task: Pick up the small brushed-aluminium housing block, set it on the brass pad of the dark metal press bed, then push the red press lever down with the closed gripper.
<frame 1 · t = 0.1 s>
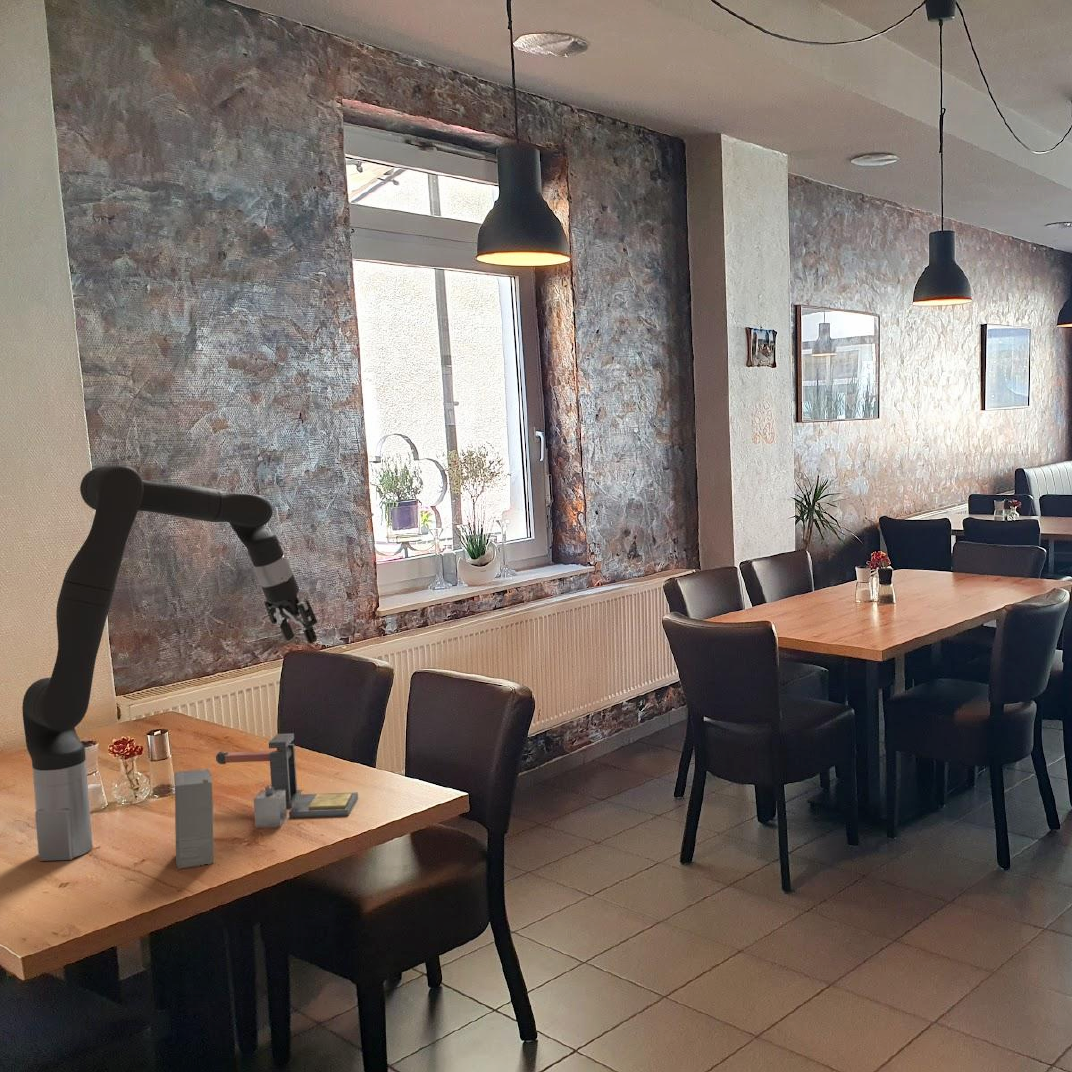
hand: (301, 640, 238), 31 cm above the table, tool tilted 20°, fingers open, 8 cm apart
skincare box: (196, 860, 192), on the table
press bed: (324, 807, 217), on the table
press lever: (252, 756, 222), point 10 cm above the table, hinge at 0.0°
housing block: (271, 823, 210), on the table
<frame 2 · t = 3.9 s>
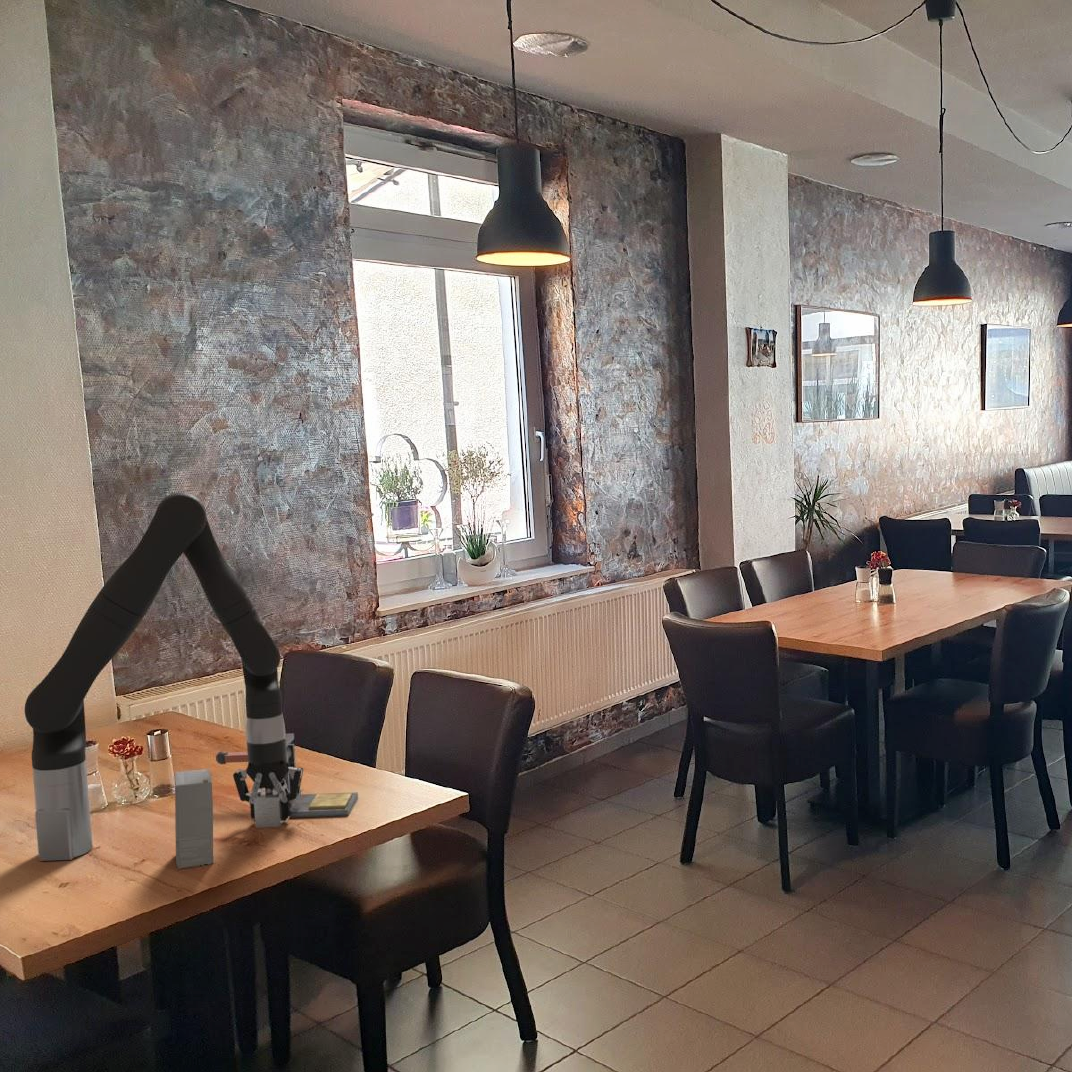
hand: (271, 819, 210), 1 cm above the table, tool pointing down, fingers closed on housing block, 5 cm apart
housing block: (271, 822, 210), on the table, touching gripper
everything else where it was.
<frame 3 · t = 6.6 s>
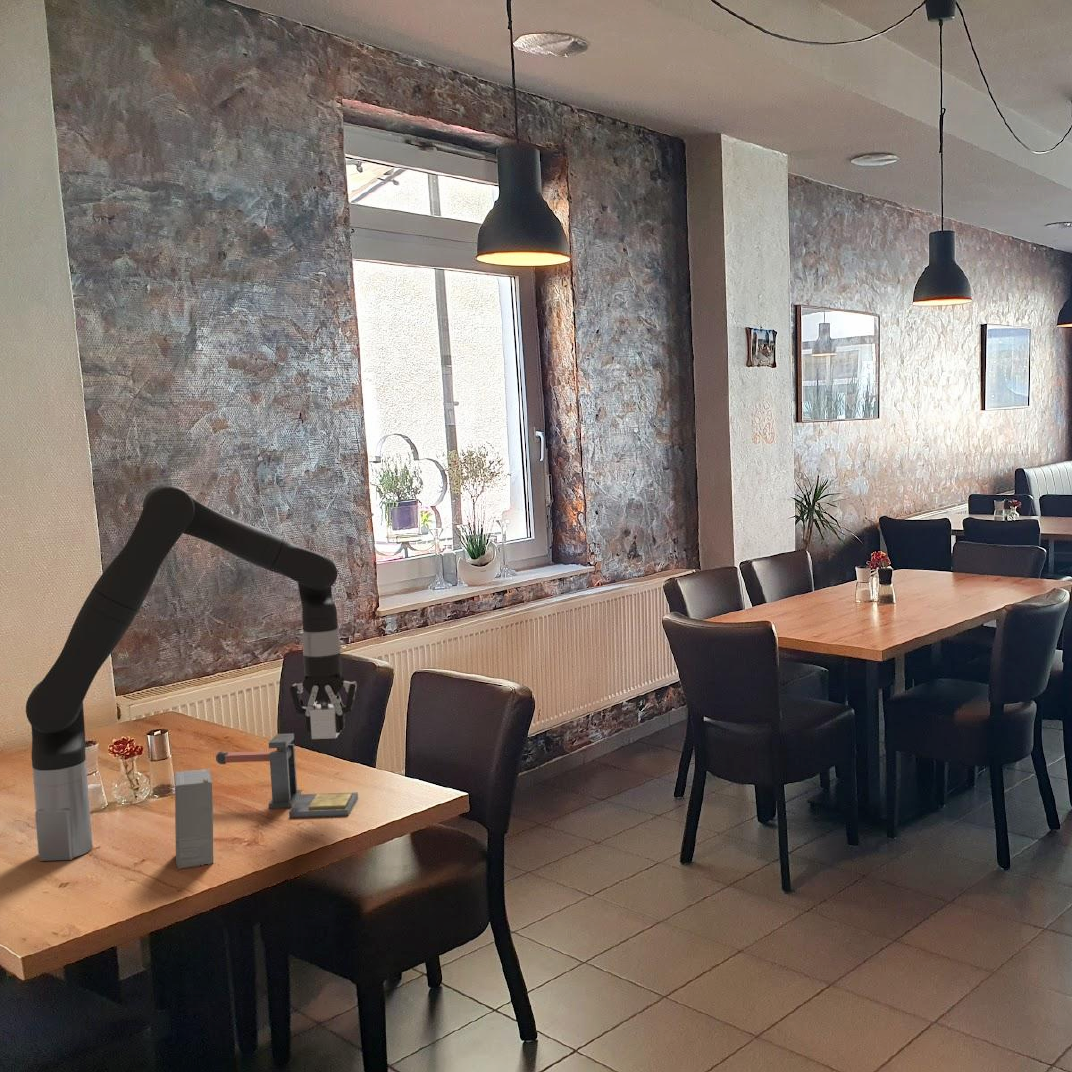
hand: (326, 732, 216), 16 cm above the table, tool pointing down, fingers closed on housing block, 5 cm apart
housing block: (326, 735, 216), point 15 cm above the table, touching gripper
everything else where it was.
when the fingers open (3 cm above the table, at t = 9.2 s): housing block stays where it is, resting on press bed.
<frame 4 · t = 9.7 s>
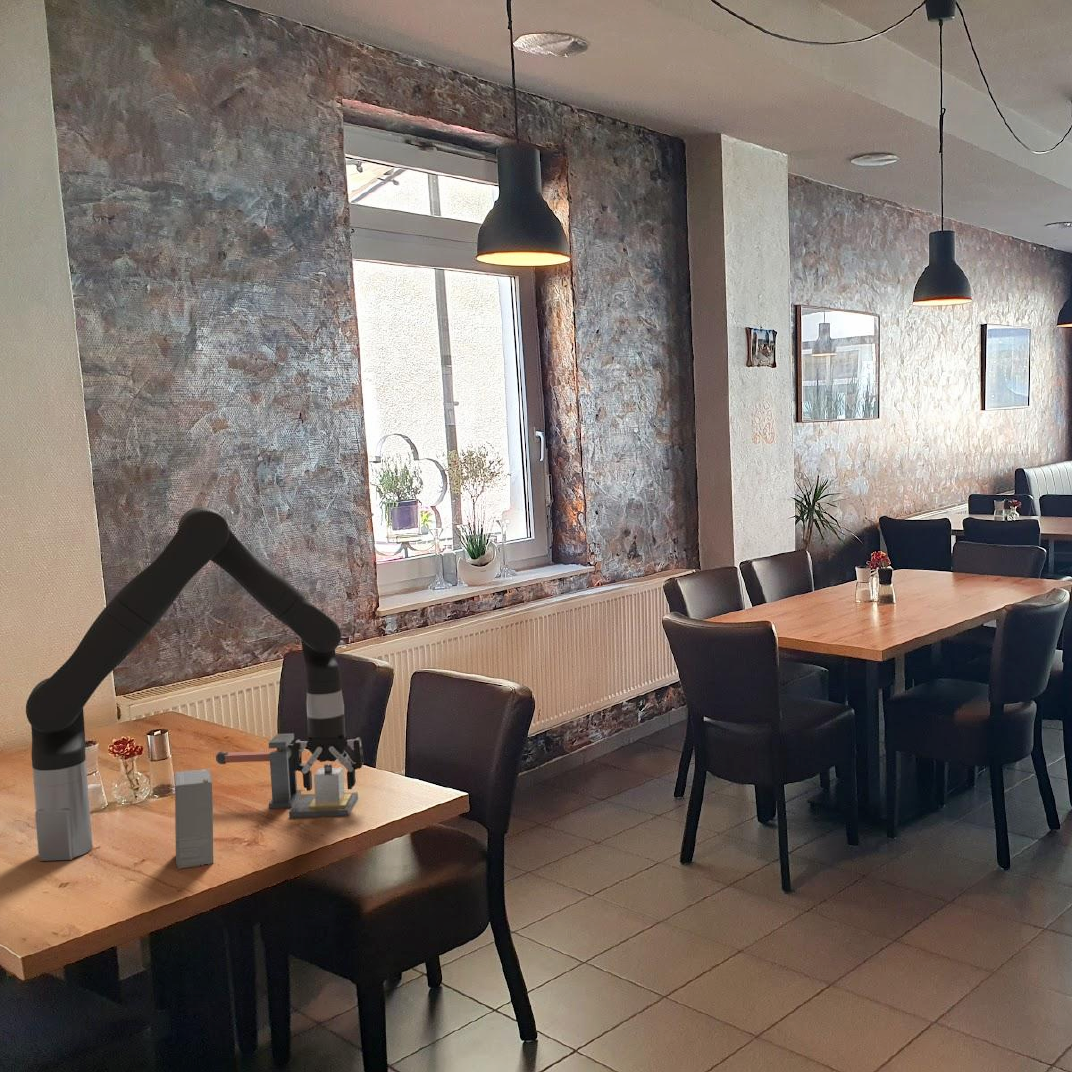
hand: (330, 788, 217), 4 cm above the table, tool pointing down, fingers open, 8 cm apart
housing block: (330, 799, 217), point 2 cm above the table, touching press bed
everything else where it was.
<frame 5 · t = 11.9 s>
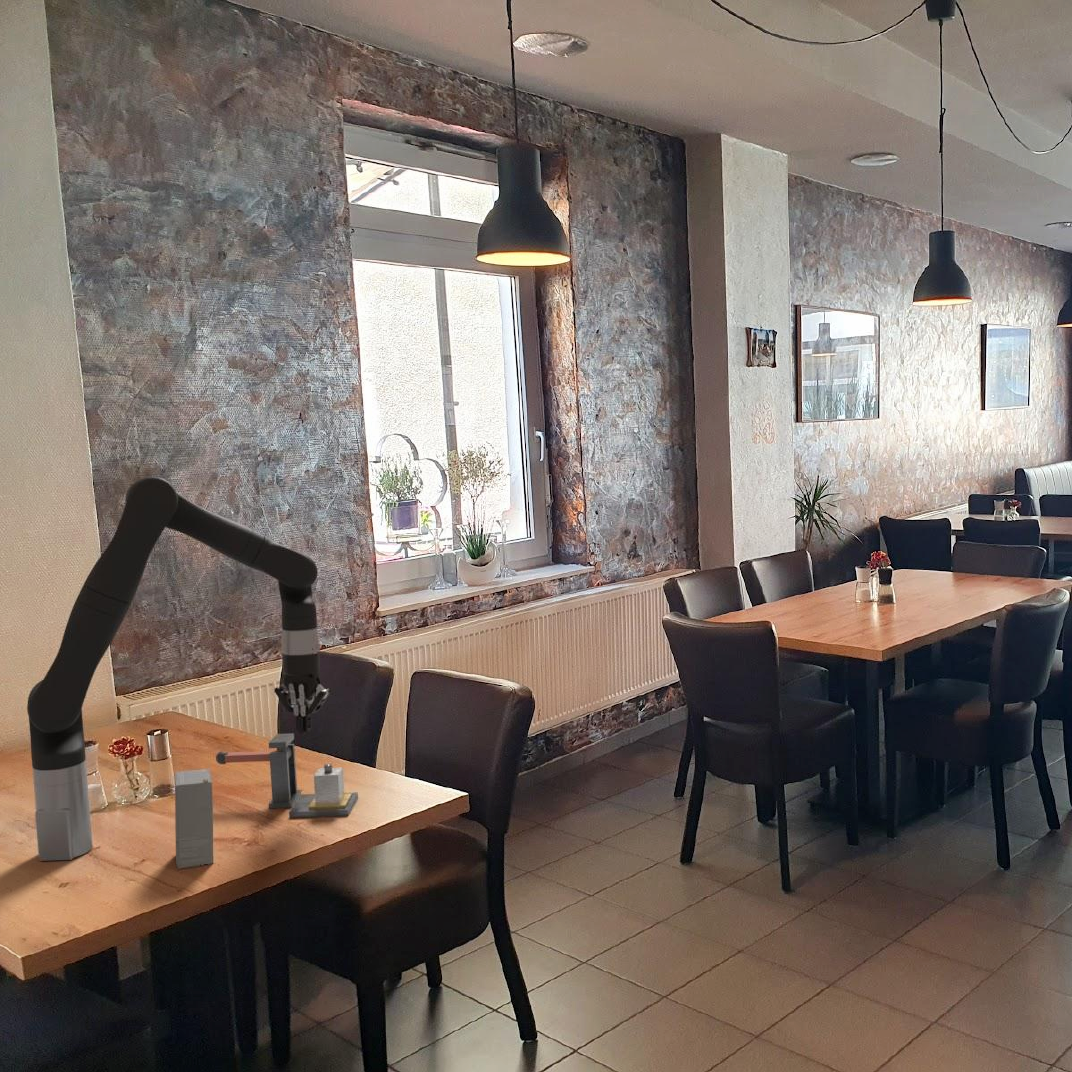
hand: (303, 732, 216), 16 cm above the table, tool pointing down, fingers closed
nothing on the table moved.
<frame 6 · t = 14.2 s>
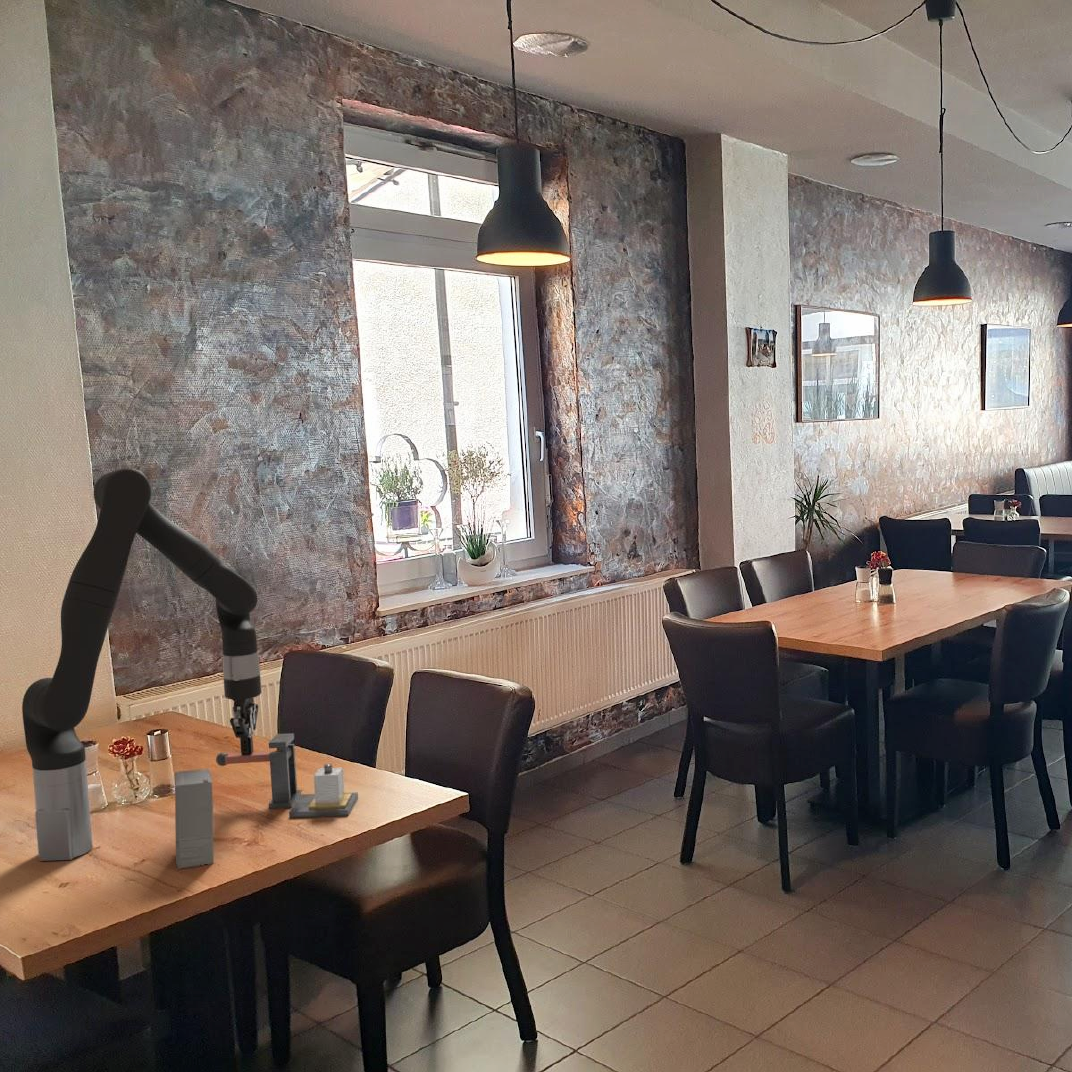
hand: (247, 754, 222), 11 cm above the table, tool pointing down, fingers closed
press lever: (252, 757, 222), point 10 cm above the table, hinge at -1.5°, touching gripper
everything else where it was.
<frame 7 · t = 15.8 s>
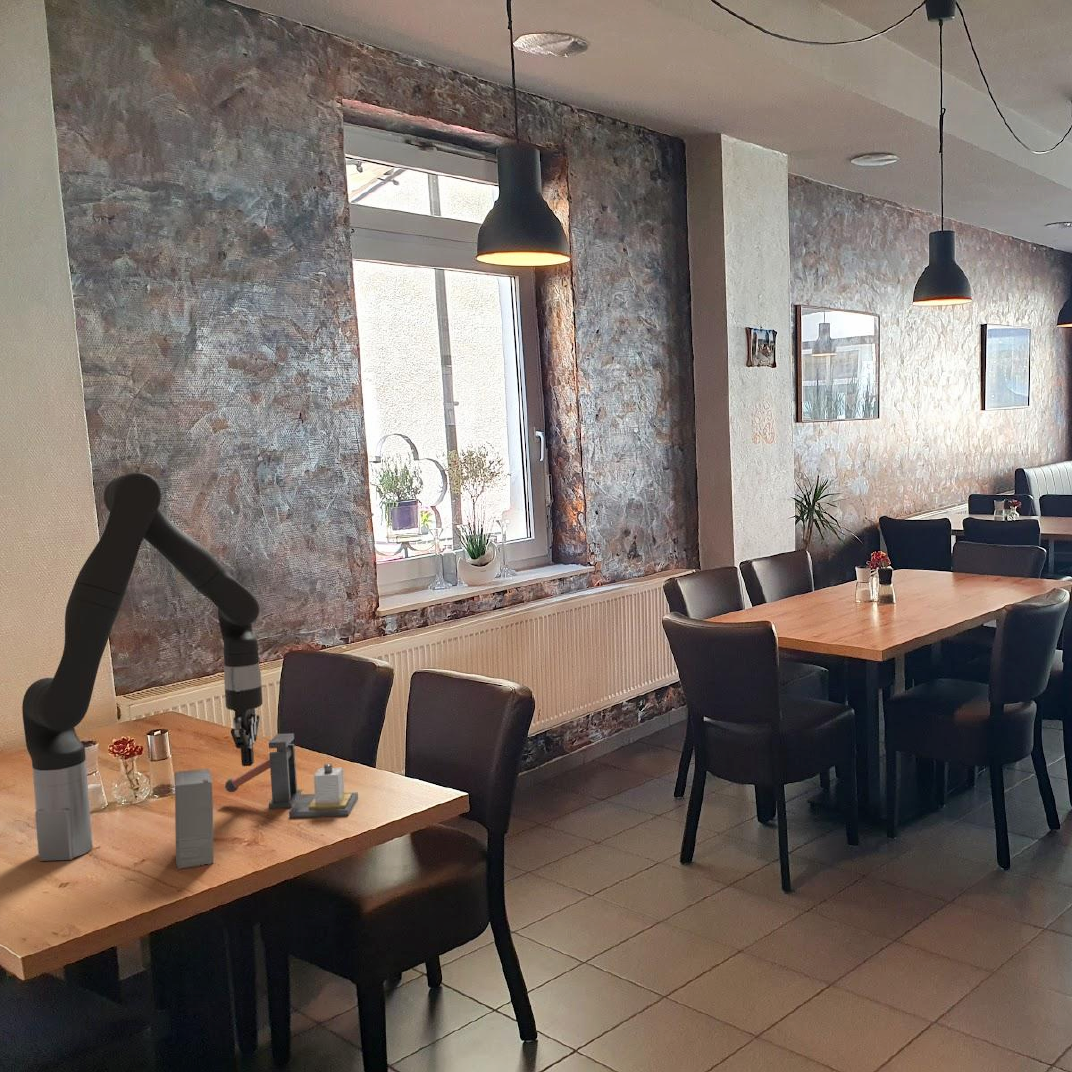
hand: (247, 765, 222), 8 cm above the table, tool pointing down, fingers closed
press lever: (257, 770, 222), point 7 cm above the table, hinge at -28.7°
everything else where it was.
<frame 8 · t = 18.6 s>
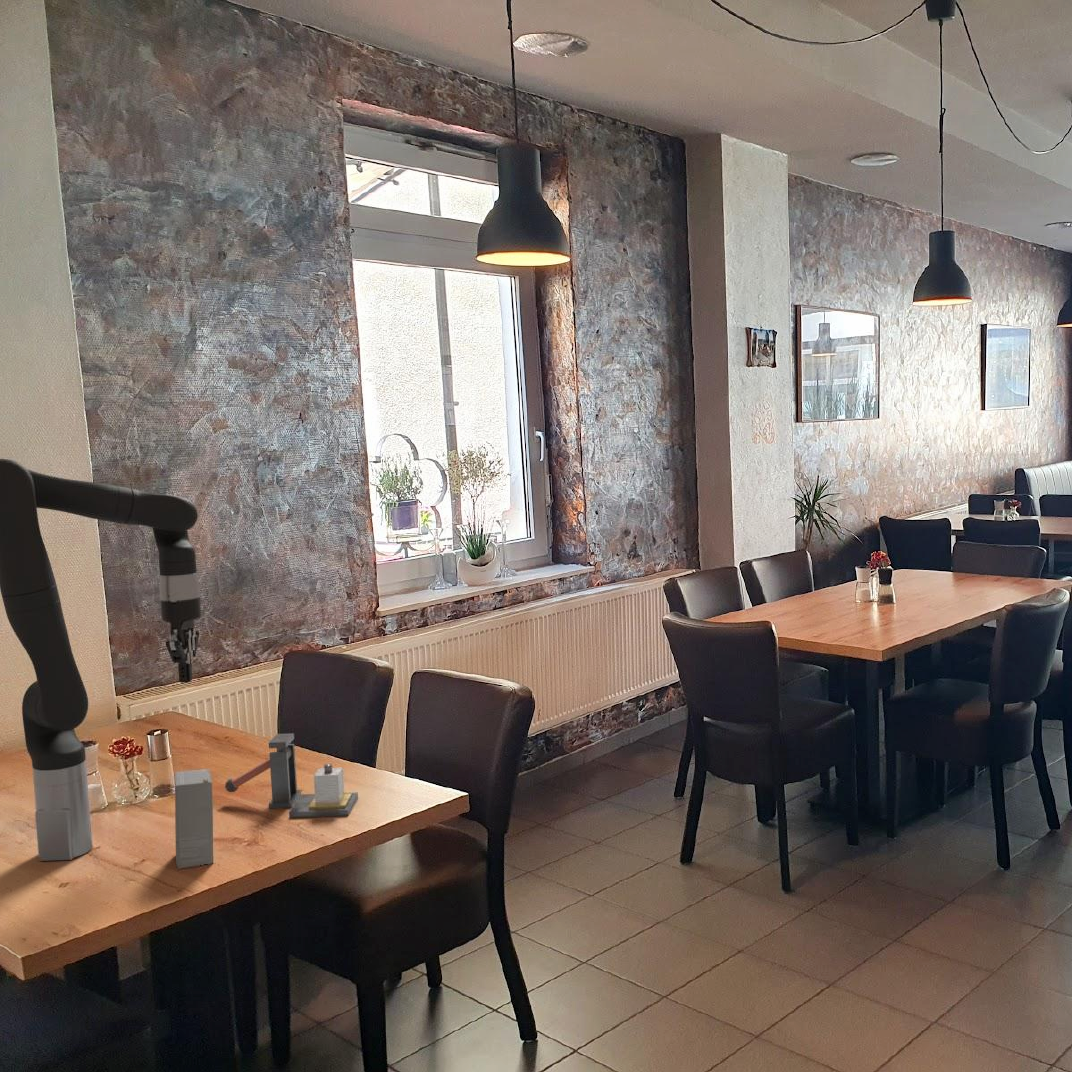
hand: (186, 681, 210), 29 cm above the table, tool pointing down, fingers closed
nothing on the table moved.
at the end: housing block inside the target area on the press bed (0.1 cm from its centre), point 1.8 cm above the press bed's base; housing block tilted 0°; press lever at -29° (first picture: +0°) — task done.
